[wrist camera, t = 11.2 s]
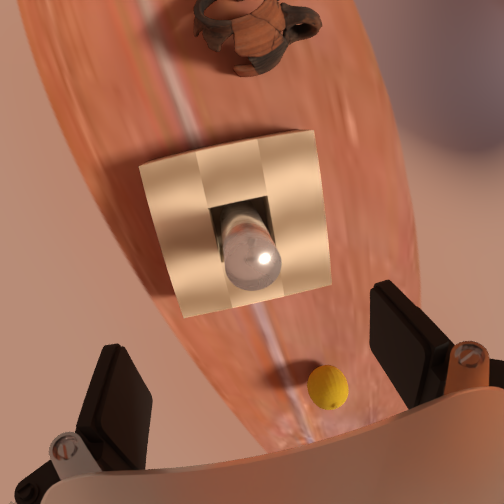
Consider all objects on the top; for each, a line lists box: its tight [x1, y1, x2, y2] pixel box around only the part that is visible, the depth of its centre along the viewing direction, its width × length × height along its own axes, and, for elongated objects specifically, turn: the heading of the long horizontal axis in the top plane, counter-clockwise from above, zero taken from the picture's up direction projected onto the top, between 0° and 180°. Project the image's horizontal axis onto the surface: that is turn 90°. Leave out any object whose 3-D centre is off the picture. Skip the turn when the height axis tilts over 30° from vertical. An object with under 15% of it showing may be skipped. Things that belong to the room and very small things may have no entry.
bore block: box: [139, 130, 332, 318], centre depth 32 cm, size 16×16×5 cm
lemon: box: [307, 365, 348, 410], centre depth 41 cm, size 6×6×8 cm
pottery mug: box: [194, 0, 322, 77], centre depth 25 cm, size 12×10×8 cm
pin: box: [220, 200, 282, 291], centre depth 28 cm, size 4×4×12 cm
